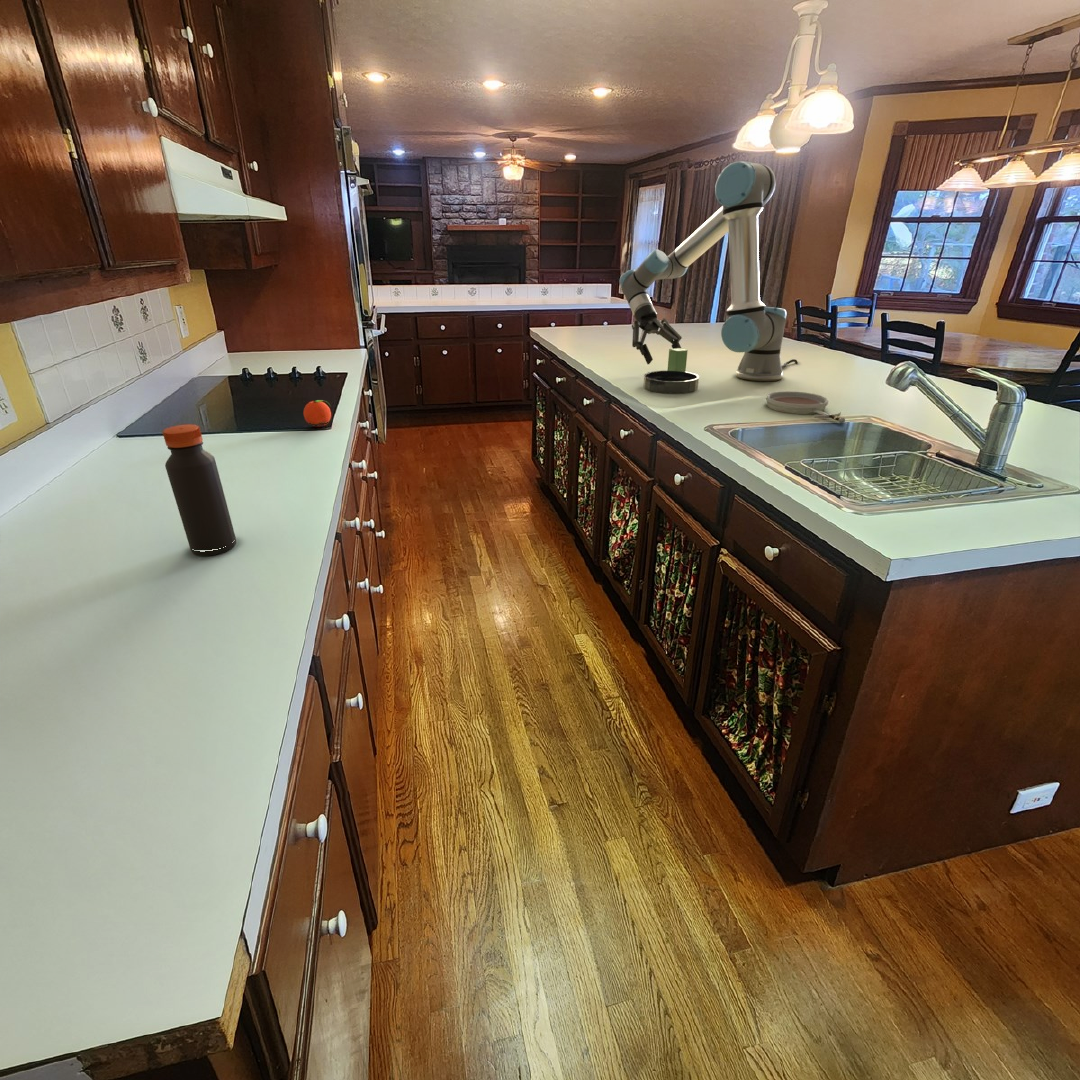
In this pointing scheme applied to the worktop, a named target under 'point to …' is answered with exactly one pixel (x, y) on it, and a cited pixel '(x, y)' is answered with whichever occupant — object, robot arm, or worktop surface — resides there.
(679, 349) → the green block
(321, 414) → the clementine
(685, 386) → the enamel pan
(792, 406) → the frying pan
